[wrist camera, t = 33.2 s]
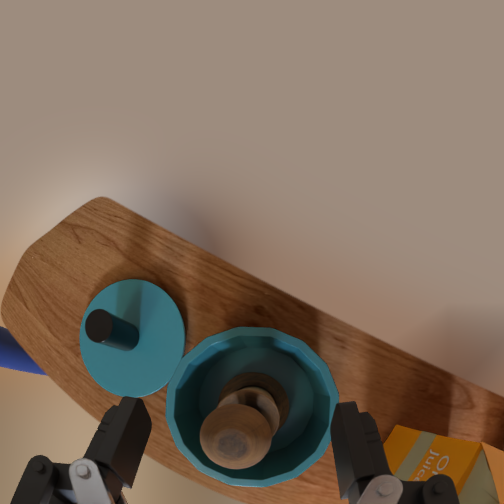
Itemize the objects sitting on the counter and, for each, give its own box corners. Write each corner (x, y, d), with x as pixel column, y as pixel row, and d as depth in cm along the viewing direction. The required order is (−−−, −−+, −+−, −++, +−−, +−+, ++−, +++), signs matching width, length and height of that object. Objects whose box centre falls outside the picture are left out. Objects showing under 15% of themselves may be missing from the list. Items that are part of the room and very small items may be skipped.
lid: (154, 420, 25) (123, 428, 19) (69, 355, 28) (31, 345, 22) (209, 313, 30) (192, 294, 24) (117, 264, 33) (88, 238, 27)
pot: (285, 475, 22) (291, 507, 14) (174, 424, 25) (140, 437, 17) (338, 369, 27) (364, 364, 19) (226, 321, 29) (211, 300, 22)
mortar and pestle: (302, 406, 25) (353, 447, 9) (251, 447, 23) (225, 534, 7) (257, 359, 27) (240, 329, 11) (207, 399, 26) (120, 420, 9)
